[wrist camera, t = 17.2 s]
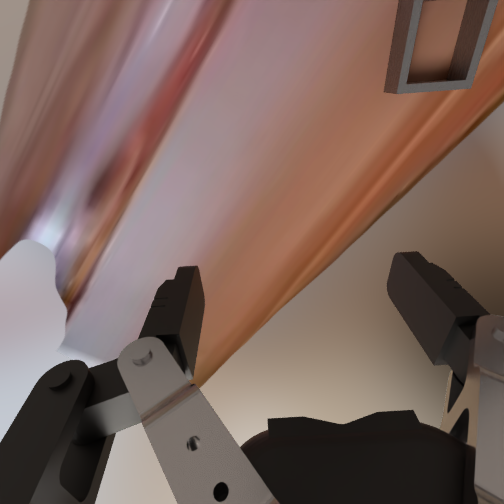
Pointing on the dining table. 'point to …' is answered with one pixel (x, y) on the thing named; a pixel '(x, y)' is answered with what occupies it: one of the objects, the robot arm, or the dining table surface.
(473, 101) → the dining table surface
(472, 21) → the sleeve
